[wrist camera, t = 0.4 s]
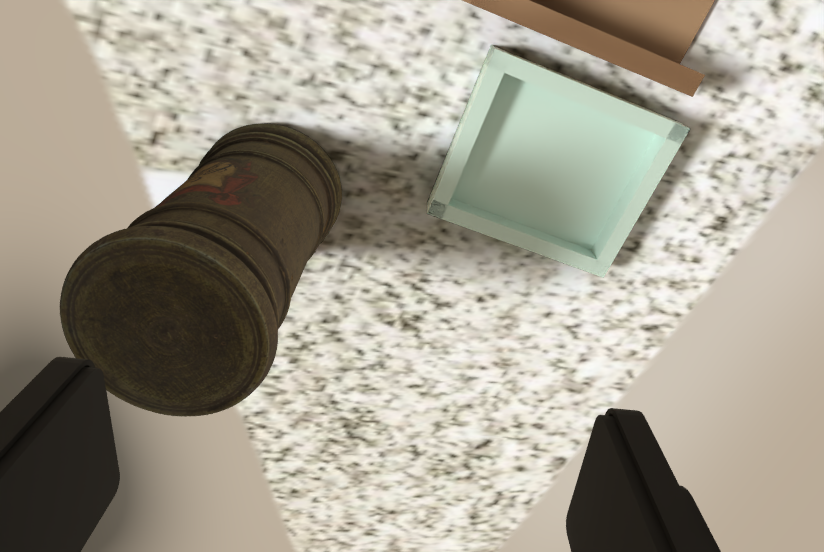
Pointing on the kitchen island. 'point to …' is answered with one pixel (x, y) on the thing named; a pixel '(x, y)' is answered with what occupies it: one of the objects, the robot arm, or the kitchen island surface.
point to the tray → (552, 163)
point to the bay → (618, 31)
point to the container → (204, 275)
